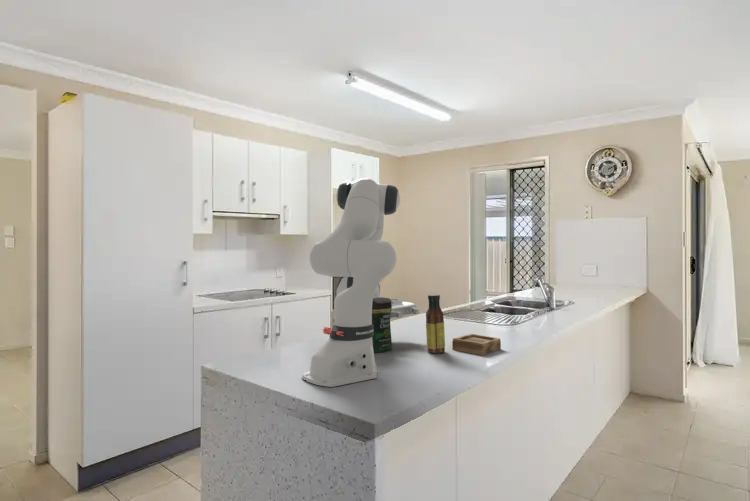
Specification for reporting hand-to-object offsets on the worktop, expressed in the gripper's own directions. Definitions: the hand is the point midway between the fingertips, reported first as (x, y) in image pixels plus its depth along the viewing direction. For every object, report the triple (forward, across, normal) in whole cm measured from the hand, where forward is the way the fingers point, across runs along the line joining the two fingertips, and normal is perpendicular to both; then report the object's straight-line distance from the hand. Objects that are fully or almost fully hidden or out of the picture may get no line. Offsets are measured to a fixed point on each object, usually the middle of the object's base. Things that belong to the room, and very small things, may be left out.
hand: (409, 313), depth 168 cm
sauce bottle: (+12, 0, +12) cm, 17 cm away
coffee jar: (-4, -12, +12) cm, 18 cm away
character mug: (-20, -16, +12) cm, 28 cm away
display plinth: (+20, +13, +12) cm, 27 cm away
